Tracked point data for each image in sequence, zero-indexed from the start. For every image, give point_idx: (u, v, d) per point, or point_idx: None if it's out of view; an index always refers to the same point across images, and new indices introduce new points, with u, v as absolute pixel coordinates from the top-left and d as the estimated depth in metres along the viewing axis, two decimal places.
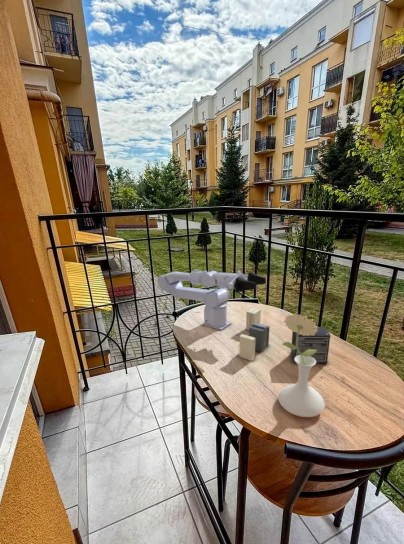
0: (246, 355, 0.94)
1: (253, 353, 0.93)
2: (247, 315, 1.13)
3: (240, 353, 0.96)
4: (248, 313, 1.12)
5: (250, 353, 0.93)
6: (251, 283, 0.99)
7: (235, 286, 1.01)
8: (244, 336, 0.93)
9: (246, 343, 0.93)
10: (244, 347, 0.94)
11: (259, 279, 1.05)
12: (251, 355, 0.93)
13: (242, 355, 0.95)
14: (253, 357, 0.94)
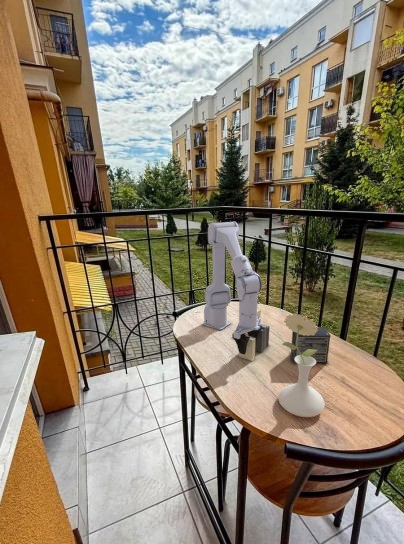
0: (246, 355, 0.94)
1: (253, 353, 0.93)
2: None
3: (240, 353, 0.96)
4: None
5: (250, 353, 0.93)
6: (244, 351, 0.91)
7: None
8: None
9: None
10: None
11: None
12: (251, 355, 0.93)
13: (242, 355, 0.95)
14: (253, 357, 0.94)
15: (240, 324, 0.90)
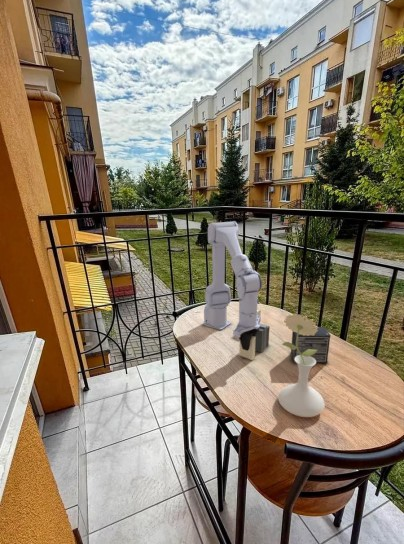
0: (246, 354, 0.94)
1: (253, 352, 0.93)
2: None
3: (240, 352, 0.96)
4: None
5: (250, 352, 0.93)
6: (247, 347, 0.92)
7: (241, 333, 0.89)
8: None
9: None
10: None
11: None
12: (251, 354, 0.93)
13: (242, 354, 0.95)
14: (253, 356, 0.93)
15: (240, 323, 0.90)
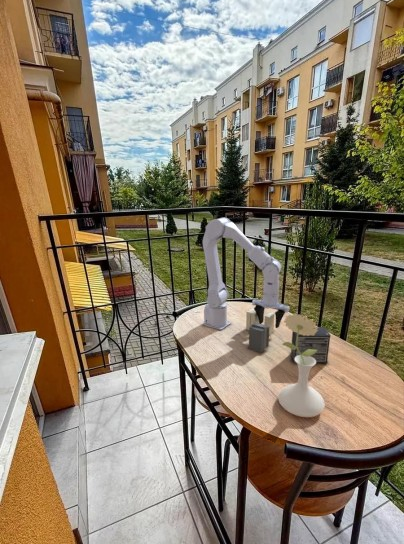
0: None
1: None
2: (247, 315, 1.13)
3: None
4: (248, 313, 1.12)
5: None
6: None
7: None
8: (270, 313, 1.10)
9: None
10: None
11: None
12: None
13: None
14: None
15: None
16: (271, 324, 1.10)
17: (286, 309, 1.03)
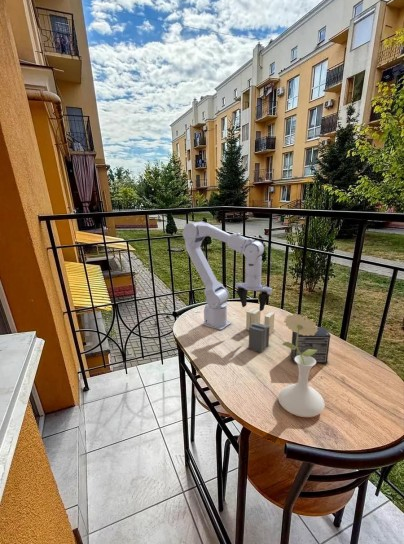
0: None
1: None
2: (247, 315, 1.13)
3: None
4: (248, 313, 1.12)
5: None
6: None
7: None
8: (270, 313, 1.10)
9: None
10: None
11: None
12: None
13: None
14: None
15: None
16: (271, 324, 1.10)
17: (268, 290, 1.02)
